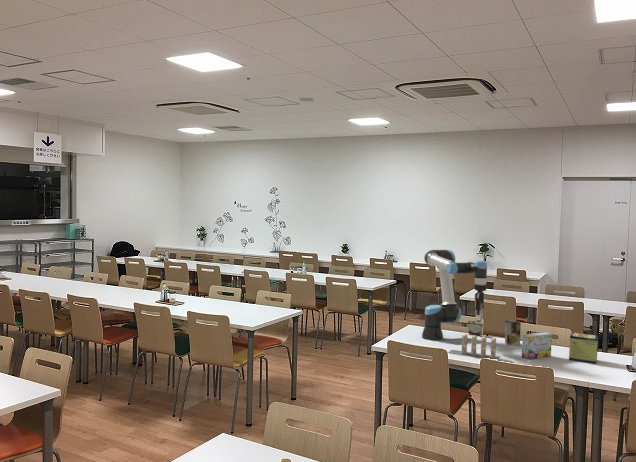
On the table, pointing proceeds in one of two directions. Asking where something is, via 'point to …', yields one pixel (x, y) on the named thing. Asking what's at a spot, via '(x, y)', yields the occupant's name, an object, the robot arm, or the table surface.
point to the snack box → (536, 345)
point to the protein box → (583, 348)
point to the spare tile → (481, 314)
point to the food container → (475, 328)
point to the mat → (470, 354)
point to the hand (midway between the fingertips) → (479, 319)
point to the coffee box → (512, 332)
